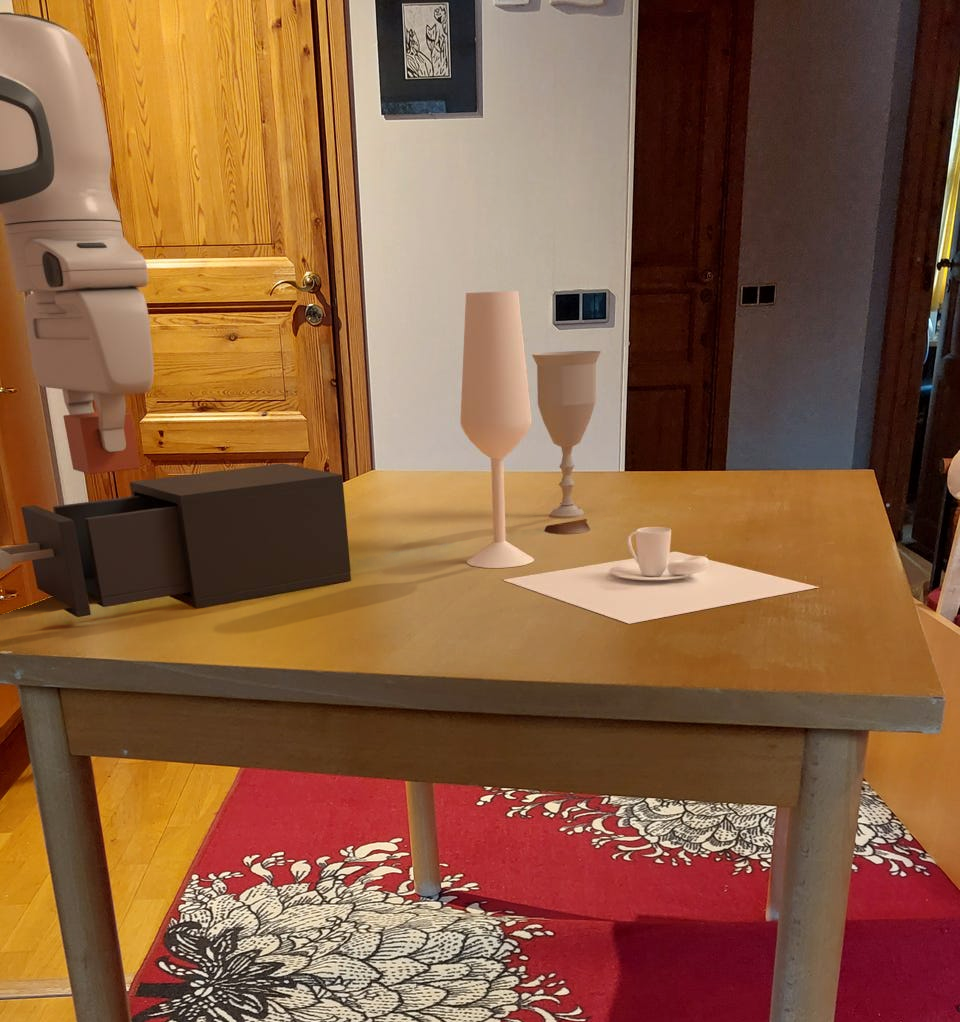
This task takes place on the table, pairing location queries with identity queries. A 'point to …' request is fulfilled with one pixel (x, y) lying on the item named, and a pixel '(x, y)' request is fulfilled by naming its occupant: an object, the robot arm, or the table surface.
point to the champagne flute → (495, 402)
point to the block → (87, 446)
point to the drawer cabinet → (257, 530)
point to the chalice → (566, 417)
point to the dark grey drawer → (104, 551)
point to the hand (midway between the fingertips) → (102, 448)
